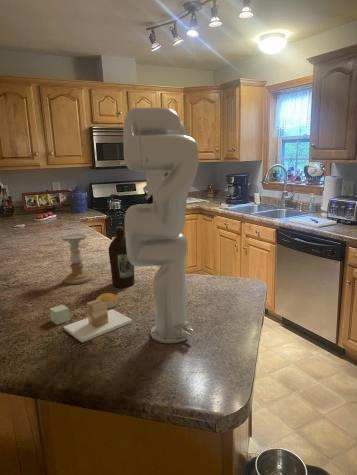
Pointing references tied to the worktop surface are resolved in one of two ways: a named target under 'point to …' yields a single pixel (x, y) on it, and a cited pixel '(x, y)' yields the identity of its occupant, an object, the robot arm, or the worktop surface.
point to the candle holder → (76, 261)
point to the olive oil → (120, 261)
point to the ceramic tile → (87, 331)
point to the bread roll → (108, 299)
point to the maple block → (97, 313)
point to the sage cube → (59, 314)
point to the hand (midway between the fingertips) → (159, 211)
